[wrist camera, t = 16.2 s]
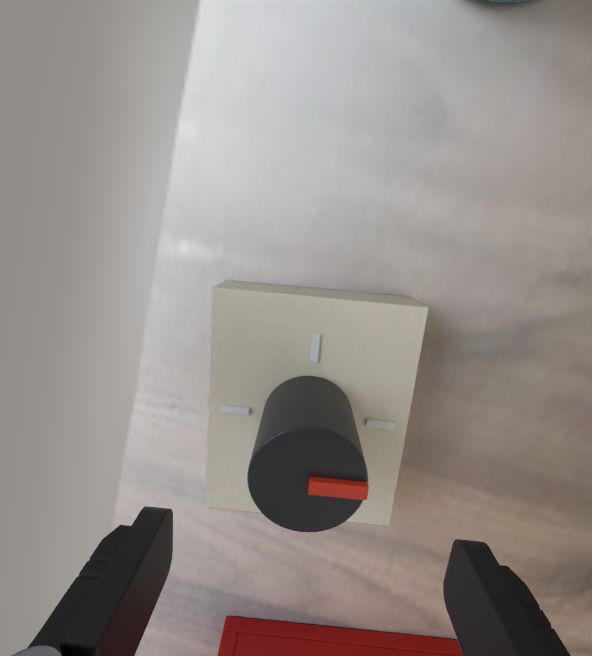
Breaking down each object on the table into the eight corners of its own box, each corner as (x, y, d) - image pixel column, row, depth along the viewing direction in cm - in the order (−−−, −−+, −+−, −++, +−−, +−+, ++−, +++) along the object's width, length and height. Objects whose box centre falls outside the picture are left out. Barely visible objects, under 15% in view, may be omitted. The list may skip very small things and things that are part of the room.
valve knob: (260, 451, 19) (242, 533, 13) (266, 370, 17) (249, 425, 12) (346, 460, 18) (361, 545, 13) (357, 379, 17) (378, 438, 12)
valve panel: (217, 473, 22) (203, 510, 19) (226, 279, 20) (210, 287, 16) (379, 489, 22) (390, 529, 19) (411, 297, 19) (430, 307, 16)
